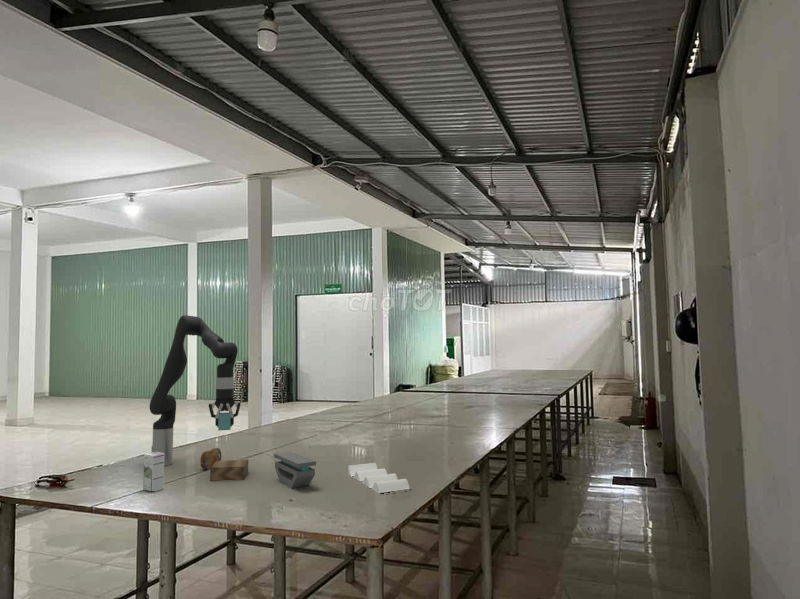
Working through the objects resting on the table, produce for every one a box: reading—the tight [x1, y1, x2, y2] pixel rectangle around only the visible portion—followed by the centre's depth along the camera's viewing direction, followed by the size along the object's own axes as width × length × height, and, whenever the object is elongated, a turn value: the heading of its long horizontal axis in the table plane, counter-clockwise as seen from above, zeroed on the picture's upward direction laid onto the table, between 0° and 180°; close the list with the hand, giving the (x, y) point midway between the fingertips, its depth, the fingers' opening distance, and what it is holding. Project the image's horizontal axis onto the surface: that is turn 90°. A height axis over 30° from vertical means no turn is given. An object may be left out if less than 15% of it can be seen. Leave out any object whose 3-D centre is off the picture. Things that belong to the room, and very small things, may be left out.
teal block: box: [217, 412, 232, 431], centre depth 246 cm, size 5×5×7 cm
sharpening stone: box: [273, 451, 317, 489], centre depth 232 cm, size 25×8×11 cm, turn 34°
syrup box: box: [143, 452, 165, 492], centre depth 224 cm, size 6×6×14 cm
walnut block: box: [209, 459, 249, 482], centre depth 245 cm, size 14×14×6 cm
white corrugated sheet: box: [347, 462, 411, 495], centre depth 232 cm, size 13×35×5 cm, turn 26°
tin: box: [200, 447, 222, 471], centre depth 264 cm, size 15×3×8 cm, turn 168°
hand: (224, 426), depth 245 cm, fingers closed on teal block, 5 cm apart
